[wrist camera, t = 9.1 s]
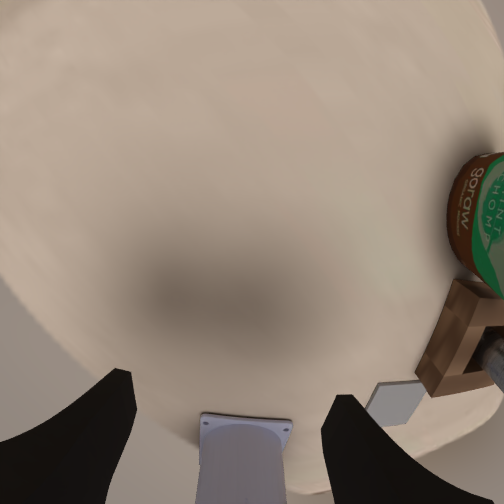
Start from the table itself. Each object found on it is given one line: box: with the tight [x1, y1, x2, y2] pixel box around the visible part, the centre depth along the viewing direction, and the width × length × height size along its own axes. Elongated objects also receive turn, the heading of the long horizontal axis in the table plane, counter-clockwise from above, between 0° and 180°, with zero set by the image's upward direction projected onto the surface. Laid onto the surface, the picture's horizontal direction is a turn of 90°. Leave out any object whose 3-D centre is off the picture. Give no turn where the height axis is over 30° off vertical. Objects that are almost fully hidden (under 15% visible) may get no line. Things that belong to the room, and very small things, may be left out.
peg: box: [471, 326, 504, 393], centre depth 16 cm, size 3×3×9 cm
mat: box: [365, 380, 426, 427], centre depth 22 cm, size 6×6×1 cm
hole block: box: [415, 279, 504, 398], centre depth 18 cm, size 9×9×4 cm
